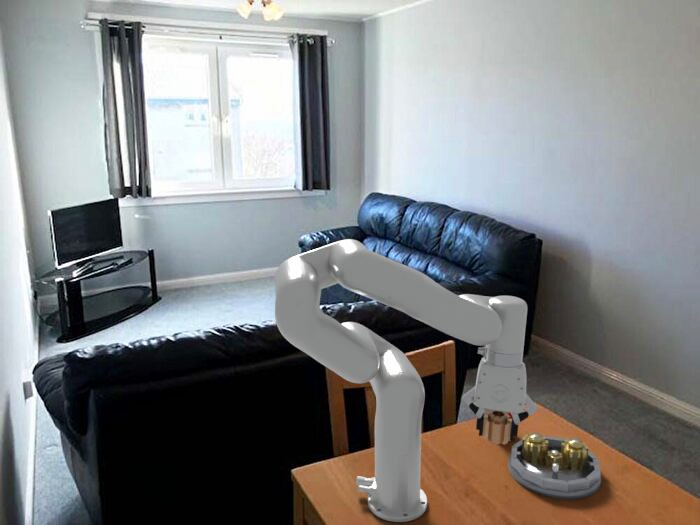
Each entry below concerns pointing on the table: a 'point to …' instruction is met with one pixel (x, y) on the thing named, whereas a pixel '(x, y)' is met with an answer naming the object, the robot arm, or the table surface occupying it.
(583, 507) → the table surface
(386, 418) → the robot arm
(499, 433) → the planet gear
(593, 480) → the carrier
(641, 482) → the table surface
